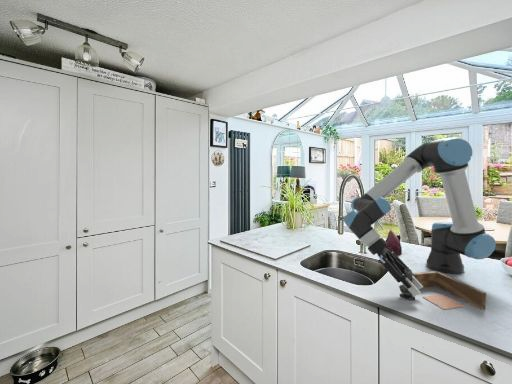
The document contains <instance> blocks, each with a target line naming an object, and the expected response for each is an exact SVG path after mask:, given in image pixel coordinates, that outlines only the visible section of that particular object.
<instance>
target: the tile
mask: <svg viewBox="0 0 512 384" xmlns="http://www.w3.org/2000/svg"><path fill="white" fill-rule="evenodd" d="M422 298H423V299H424V300H427V301H428V302H430V303H432V304H433V305H435V306H437V307H438V308H440V309H442V310H443V311H444V310H452V309H458V308H465V307H466V305H463V304H462V303H460V302H458V301H457V300H454V299H453V298H451V297H449V296H447V295H446V294H443V293H442V294H433V295H426V296H425V295H424V296H422Z"/></svg>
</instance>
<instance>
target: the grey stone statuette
mask: <svg viewBox="0 0 512 384" xmlns="http://www.w3.org/2000/svg"><path fill="white" fill-rule="evenodd" d="M407 267H408V266H407ZM410 269H411V268H410V267H408V269H405V270H404V274H403V275H404V276H405V278H408V279H409V280H410V281H411V282H412V281H413V279H412V273H413V271H412V269H411V270H410ZM398 288H399V290H400V293H399V297H400V298H401V299H403V300H406V301H415V300H416V296H415V297H414V296H413V295H412V294H411V292H410V291H409V290H408V289H407V288H406V287H405V286H404V285H403V284H400V285H399V286H398Z"/></svg>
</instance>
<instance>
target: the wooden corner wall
mask: <svg viewBox="0 0 512 384" xmlns="http://www.w3.org/2000/svg"><path fill="white" fill-rule="evenodd" d="M412 275H413V276H414V277H415V278H416V279H417V281H418V282H419V283H420V284H421V285H422V286H423V288H431V287H432V288H433V287H436V288H439V289H441V290H442V291H445V292H446V291H447V293H448V292H449V294H451V295H452V296H454V297H457V298H458V299H460V300H462V301H464V302H466V303H468V304H470V305H472V306H474V307H476V308H478V309H479V310H486V301H487V300H486V298H487V292H485V291H483V290H480V289H478V288H476V287H473V286H471V285H469V284H467V283H465V282H462V281H461V280H458V279H455V278H453V277H451V276H449V275H447V274H445V273H443V272H441V271H437V270H432V271H431V270H430V271H421V272H412ZM423 288H422V289H423Z"/></svg>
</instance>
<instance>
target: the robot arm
mask: <svg viewBox="0 0 512 384" xmlns="http://www.w3.org/2000/svg"><path fill="white" fill-rule="evenodd" d="M472 157H473V148H472V146H471V144H470V143H469V142H468V141H467V140H466V139H463V138H461V137H446V138H441V139H435V140H430V141H427V142H424V143H422V144H421V145H419V146H417V147H416V148H415V149H414V150H412V151H411V152H410V153H409V154H407V155H406V156H405V157H404V158H403V161H402V162H401V163H399V164H398V166H396V167H395V168H394V169H392V171H390V172H389V173H388V174H387V175H386V176H384V177H383V178H382V179H381V180H380V181H378V182H377V183H376V184H375V185H374V186H372V187H371V188H370V189H369V190H367V192H365V193H363V195H362V196H361V197H355V198H353V199H352V200H351V202H350V208H351V211H349V212H348V213H346V215H345V216H344V217H343V218H342V219H343V222H344V224H345V225H346V226H347V228H348V229H349V230H350V231H351V232H352V234H354V236H356V237H357V239H358V240H359V241H360V243H361V244H363V246H365V247H367V250H368V251H369V252H370V253H371V254H372V256H374V255H377V256H378V258H379V259H378V262H379V263H380V264H381V265H382V266H383V267H384V268H385V269H386V271H387V272H388V273H389V274H390V275H391V276H392V277H393V279H394V280H395V281H396V282H397V283H401V285H404V286H405V287H406V288H407V289H408V290H409V291H410V292H411V294H412V295H413V296H414V297H415V298H416V296H418V295H421V291H420V290H421V289H423V286H422V285H421V284H420V283H419V282H418V281H417V279H416V278H415V277H414V276H413V275H412V279H413V281H412V282H411V281H410V280H409V279H408V278H405V276H404V270H405V269H408V265H407V264H406V263H405V262H404V261H403V260H402V259H401V258H400V257H399V255H398V256H397V255H396V254H395V253H394V252H393V250H392V249H390V250H388V249H387V248H386V246H387V245H388V244H387V242H386V239H384V238H382V237H381V234H379V233H378V231H377V230H375V228H374V227H373V226H372V225H373V224H375V223H376V222H378V221H379V220H380V219H382V218H383V217H384V216H386V215H387V214H388V213H390V212H391V210H392V206H391V204H390V202H389V201H388V200H387V199H386V198H387V197H388V196H389V195H390V194H392V192H394V191H395V190H397V189H398V188H399V187H401V185H402V184H403V183H405V182H406V181H407V180H409V179H410V178H411V177H412V176H414V175H415V174H416V173H421V172H422V171H423V170H425V169H427V168H429V167H433V169H434V172H435V174H437V175H439V176H440V180H441V183H442V186H443V187H442V188H443V191H444V194H445V195H444V196H445V199H446V203H447V205H448V209H449V214H450V217H451V221H452V222H450V221H449V222H448V221H447V222H446V221H443V222H442V221H441V222H433V223H432V226H431V236H430V237H431V239H430V241H431V243H430V246H431V248H430V252H429V255H428V258H427V259H426V267H428V268H430V269H432V270H433V271H438V272H440V273H447V274H448V273H449V274H462V273H463V272H464V270H465V266H464V264H463V259H462V257H461V255H462V256H465V257H467V258H469V259H470V258H471V259H474V260H484V259H487V258H488V257H490V256H491V255H492V254H493V252H494V251H495V248H496V246H497V245H496V240H495V238H494V237H493V236H491V235H490V234H488V233H486V230H485V226H484V225H483V224H482V223H480V222H478V217H477V213H476V210H475V206H474V201H473V197H472V193H471V190H470V186H469V181H468V178H467V174H466V170H467V169H468V168H469V162H470V161H471V159H472ZM409 269H410V270H411V271H412V269H411V268H409Z"/></svg>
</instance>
